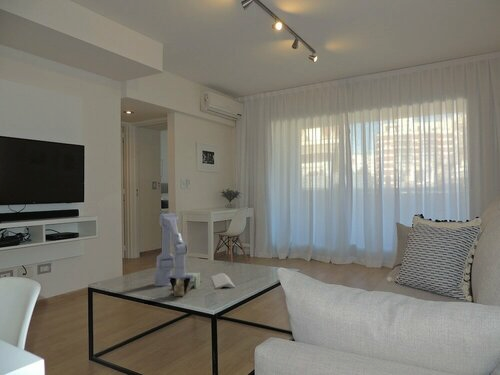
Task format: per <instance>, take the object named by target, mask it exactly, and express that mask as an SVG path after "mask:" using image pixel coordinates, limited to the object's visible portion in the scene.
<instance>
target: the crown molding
mask: <svg viewBox="0 0 500 375" xmlns="http://www.w3.org/2000/svg"><path fill="white" fill-rule="evenodd" d="M209 279H210V282H211V284H212V287H213V289H214V290H220V289H222V288H223V287H224V288H225V287H227V288H230V289H236V288H237V287H236V286H235V284H234V283H233V281H232V280H231V278H230V276H229V275H227V274H225V273H224V272H221V273H218V274H217V273H216V274H215V275H212V276H210V278H209Z"/></svg>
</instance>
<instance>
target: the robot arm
mask: <svg viewBox="0 0 500 375" xmlns="http://www.w3.org/2000/svg"><path fill="white" fill-rule="evenodd" d="M178 223H179V215H178V213H177V212H175V213H173V212H172V213H160V215H159V220H158V225H159V226H160V227H161V229H162V230H161V231H162V233H161V237H162V239H161V253H160V254H159V255H157V257H156V262H155V265H156V269H155V271H154V287H160V286H161V287H169V286H171V287H172V290H173V292H174V286H175V285H176V284H177V280H179V279H184V293H186V292H187V287H188V284H189V282H190V281H191V280H194V275H190V274H186V273H187V272H186V255H187V253H188V247H187V246H188V245H187V243H186V242H185V241H184V240H183V236H182V234H181V233H180V232H179V229H178ZM171 244H172V253H173V254H172V253H171ZM173 268H174V273H173V274H172V270H173ZM187 293H188V292H187ZM187 293H186V294H187Z"/></svg>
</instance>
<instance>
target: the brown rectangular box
mask: <svg viewBox="0 0 500 375" xmlns="http://www.w3.org/2000/svg"><path fill="white" fill-rule="evenodd" d="M190 290H191V288H190V282H189V284H188V287H187V292H186V293H184V281H180V282H179V281H178V282H176V285H175V286H174V291H173V295H174V297H176V296H182V297H184V296H185V295H187V293H188V292H189V291H190Z"/></svg>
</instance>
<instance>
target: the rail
mask: <svg viewBox="0 0 500 375" xmlns="http://www.w3.org/2000/svg"><path fill="white" fill-rule="evenodd" d="M193 287H194V283H190V289H191V288H193ZM182 297H183V296H175V298H182Z"/></svg>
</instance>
